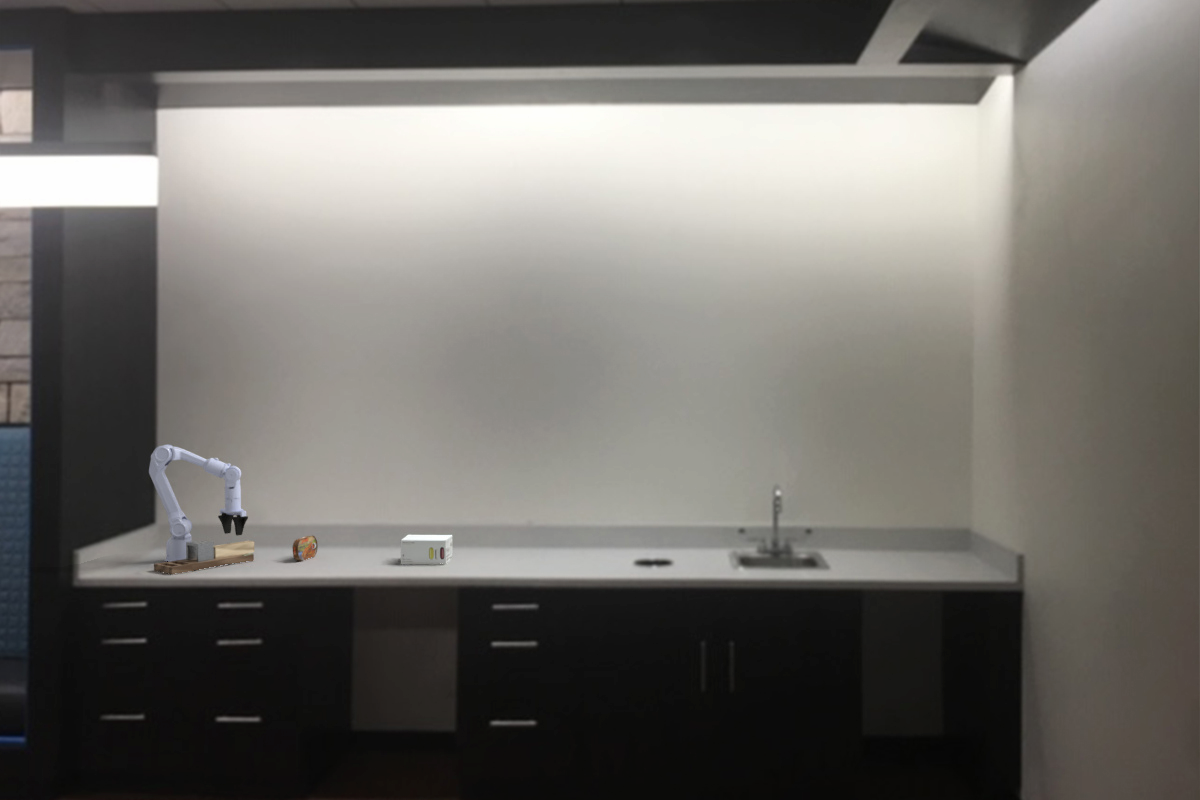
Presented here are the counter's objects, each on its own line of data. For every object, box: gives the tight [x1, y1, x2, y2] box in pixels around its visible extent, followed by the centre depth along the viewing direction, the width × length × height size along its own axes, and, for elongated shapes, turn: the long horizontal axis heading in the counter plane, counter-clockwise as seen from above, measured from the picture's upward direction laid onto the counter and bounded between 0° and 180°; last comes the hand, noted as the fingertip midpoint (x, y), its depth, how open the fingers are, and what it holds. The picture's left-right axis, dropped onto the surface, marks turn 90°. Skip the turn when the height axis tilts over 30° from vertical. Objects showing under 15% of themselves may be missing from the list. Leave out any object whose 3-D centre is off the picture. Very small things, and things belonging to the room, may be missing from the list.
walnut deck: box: [153, 552, 255, 575], centre depth 355 cm, size 12×32×3 cm, turn 143°
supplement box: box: [400, 534, 454, 565], centre depth 361 cm, size 17×13×9 cm
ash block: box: [214, 540, 255, 558], centre depth 363 cm, size 4×16×4 cm, turn 143°
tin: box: [292, 534, 319, 562], centre depth 368 cm, size 15×3×8 cm, turn 168°
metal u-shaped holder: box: [186, 539, 215, 562], centre depth 353 cm, size 8×6×6 cm
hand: (233, 534), depth 368 cm, fingers open, 7 cm apart
